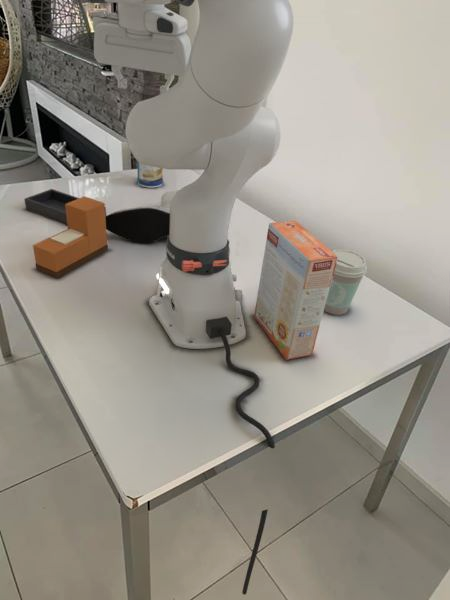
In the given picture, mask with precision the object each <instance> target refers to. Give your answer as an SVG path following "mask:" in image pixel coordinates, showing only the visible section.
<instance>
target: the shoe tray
mask: <svg viewBox="0 0 450 600" xmlns="http://www.w3.org/2000/svg"><path fill="white" fill-rule="evenodd" d="M79 198H80V197H78V196H74V195H71V194H68V193H65V192H62V191H59V190H56V189H54V188H50V189H48V190H45V191H42V192H39V193H35V194H33V195H30V196H28V197H25V198H24V205H25V210H27V211H29V212H32V213H34V214H37V215H40V216H43V217H46V218H48V219H52V220H54V221H57V222H60V223H62V224H64V225H67V217H66V209H65V204H67V203H69V202H71V201H74V200H76V199H79ZM106 216H107V209H106V206H105V217H106Z"/></svg>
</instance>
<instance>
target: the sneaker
mask: <svg viewBox="0 0 450 600" xmlns="http://www.w3.org/2000/svg"><path fill="white" fill-rule="evenodd" d="M78 198H79V199H76V200H74V201H71V202H69V203H67V204H65V209H66V217H67V224H66V225H67V229H65V230H63V231H60V232H58V233H56V234H54V235H52V236H50V237H48V238H45V239H44V240H41V241H39V242H37V243H35V244H32V248H33V249H32V250H33V254H34V261H35V263H34V264H35V269H36V271H39V272H41V273H44V274H46V275H48V276H51V277H53V278H55V279H60V278H61V277H64V276H66V275H67V274H68V273H71V272H72V271H75V270H76V269H78V268H79V267H81V266H83V265H85V264H87V263H88V262H90V261H92V260H94V259H95V258H97V257H99V256H101V255H102V254H104V253H106V252H108V251H109V245H108V236H107V230H106V219H105V207H106V205H105V204H106V203H105V202H102V201H99V200H97V199H93V198H91V197H88V196H81V197H78Z"/></svg>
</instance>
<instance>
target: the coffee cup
mask: <svg viewBox="0 0 450 600" xmlns="http://www.w3.org/2000/svg"><path fill="white" fill-rule="evenodd" d="M331 251H332V252H333V253H334V254H336V255H337V256H338V259H337V263H336V267H335V271H334V274H333V278H332V282H331V285H330V289H329V293H328V296H327V300H326V304H325V308H324V311H323V312H325V313H328V314H330V315H335V316H341V315H344V314H346V313H347V312H348V310H349V309H350V306H351V304H352V301H353V300H354V297H355V295H356V292H357V290H358V288H359V286H360V284H361V282H362V279H363V277H364V276H365V275H366V274H367V273H368V271H367V269H368V266H367V260H366V258H365V257H364V256H363V255H362V254H360V253H358V252H355V251H353V250H349V249H334V250H331Z"/></svg>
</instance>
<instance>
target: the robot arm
mask: <svg viewBox="0 0 450 600" xmlns="http://www.w3.org/2000/svg"><path fill="white" fill-rule="evenodd" d="M87 1H88V2H89V3H90V4H107V3H114V4H115V3H117V9H118V11H117V12H106V11H104V10H99V11H98V12H97V13H95V14H94V15H93V17H92V29H93V32H94V34H93V57H94V59H95V60H96V62H97V63H98V64H103V65H110V67H111V72H112V74H113V76H114V77H115V79H116V80H117V89H119V90H126V89H128V79H127V78H125V77H124V76H123V74H122V72H121V70H122V69H123V68H127V69H128V68H129V69H133V70H140V71H146V72H153V73H159V74H164V79H165V80H166V82H165V84H162V85H160V86H159V94H158V95H156V96H152V97H151V98H148V99H143V100H140V101H138V102H137V103H136V104H135V105H134V106H133V107H132V108H131V110H130V112H129V114H128V115H127V119H126V123H125V140H126V144H127V146H128V149H129V151H130V153H131V154H132V156H133V157H134V159H136V161H138V162H140V163H141V164H145V165H149V166H154V167H158V168H163V170H164V169H165V170H191V171H192V170H193V171H194V170H195V171H197V170H198V171H201V170H202V174H201V175H200V176H199V177H198V178H197V179H196V180H195V181H193V182H191V183H188V184H187V185H185V186H184V187H182V188H180V189H178V190H179V191H178V192H177V193H176V194H175V196H174V197H173V199H172V201H171V204H170V232H169V236H168V237H166V238H167V239H166V243H165V249H166V258H165V260H164V261H163V262H162V263H161V264H160V265H159V266H158V273H157V274H156V279H157V287H156V288H157V292H156V294H154V295H152V296H151V297H150V298H149V300H148V305H149V306H150V308H151V310H152V312H153V313H154V315H155V317H156V318H157V320H158V321H159V323H160V324H161V326H162V327H163V329H164V331H165V332H166V334H167V336H168V337H169V339H170V340H171V342H172V343H173V345H174V346H175V347H179V348H184V349H190V350H191V349H192V350H204V349H215V348H216V349H217V348H222V347H224V350H225V362H226V363H225V364H226V365H227V366H228V368H229V369H230V370H231V371H233V372H234V373H235V372H236V373H237V374H240V375H243V376H244V375H245V376H248V377H250V378H252V379H253V380H254V383H253V384H252V386H251V387H249V388H247V389H246V390H245V391H243V392H242V393H240V394H239V395H238V396H237V398H236V399H235V403H234V407H235V410H236V413H237V414H238V416H240V418H242V419H243V420H244V421H245V422H247V423H248V424H251V425H252V426H253V427H255V428H256V429H258V430H259V431H260V432H261V433H262V434H263V436H264V438H265V439H266V442H267V445H268V447H269V448H270V449H275V448H276V445H275V442H274V438H273V437H272V434H271V433H270V431H269V430H268V429H267V427H265V426H264V425H263V424H262V423H261V422H259V421H257V420H256V419H254V418H253V417H252V416H250V415H249V414H247V413H246V412H245V411H244V410H243V408H242V406H241V404H242V402H243V400H244V399H245V398H247V397H248V396H249V395H251V394H252V393H254V392H255V391H256V390H257V389H258V388H259V386H260V381H261V379H260V376H259V375H258V374H256V373H255V372H254V371H251V370H249V369H244V368H241V367H238V366H236V365H235V364H233V362H232V360H231V359H232V358H231V355H232V351H231V347H230V346H231V345H234V344H236V343H239V342H241V341H243V340H244V339H245V338H246V337H247V331H246V326H245V320H244V316H243V310H242V307H241V302H242V301H243V290H242V289H236V288H235V285H234V282H237V274H233V271H232V266H231V265H232V261H231V260H230V254H231V253H230V252H231V250H230V249H231V248H230V241H229V238H228V237H229V229H230V224H231V223H230V222H231V217H232V212H233V208H234V204H235V202H236V199H237V197H238V195H239V194H240V193H241V190H242V189H243V187H244V186H245V185H246V183H247V182H248V181H249V180H250V179H251V178H252V177H253V176H254V175H255V174H256V173H258V172H259V171H260V170H262V169H264V168H265V167H266V166H268V165H269V164H270V163H271V162H272V160H273V159H274V158H275V156H276V155H277V153H278V150H279V148H280V145H281V144H280V143H281V128H280V122H279V121H278V118H277V116H276V115H275V113H274V112H273V111H272V109H271V108H269V107H265V106H263V104H264V102H265V101H266V99H267V97H268V95H269V94H270V92H271V91H272V89H273V87H274V85H275V83H276V82H277V79H278V77H279V75H280V73H281V71H282V68H283V65H284V63H285V61H286V58H287V55H288V51H289V48H290V44H291V41H292V36H293V33H294V14H293V9H292V6H291V3H290V1H289V0H197V3H198V8H199V17H198V18H199V19H198V26H197V29H196V33H195V36H194V39H193V42H192V45H191V39H190V37H189V35H188V34H187V33H186V31H187V30H188V26H189V22H188V20H187V18H186V17H183V16H182V15H180V14H178V13H176V12H174V11H172V10H170V9H169V8H167V7H166V5H168V4H172V3H173V2H174V1H175V0H87ZM176 2H177V3H178V4H179V5H181V6H185V7H191V6H192V5H193V4H194V3H195V0H176ZM175 76H178V77H181V79H179V80H178V81H177V82H176V83H174V85H172V86H171V84H172V83H173V81H174V79H175ZM170 86H171V87H170ZM268 511H269V509H263V510H261V515H260V520H259V524H258V528H257V533H256V536H255V540H254V544H253V547H252V548H253V549H252V552H251V556H250V559H249V562H248V566H247V570H246V574H245V578H244V582H243V585H242V586H243V587H242V591H241V592H242V595H243V596H245V595H247V593H248V588H249V585H250V581H251V576H252V573H253V569H254V565H255V562H256V559H257V555H258V551H259V547H260V544H261V541H262V537H263V533H264V529H265V524H266V520H267V517H268Z"/></svg>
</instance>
